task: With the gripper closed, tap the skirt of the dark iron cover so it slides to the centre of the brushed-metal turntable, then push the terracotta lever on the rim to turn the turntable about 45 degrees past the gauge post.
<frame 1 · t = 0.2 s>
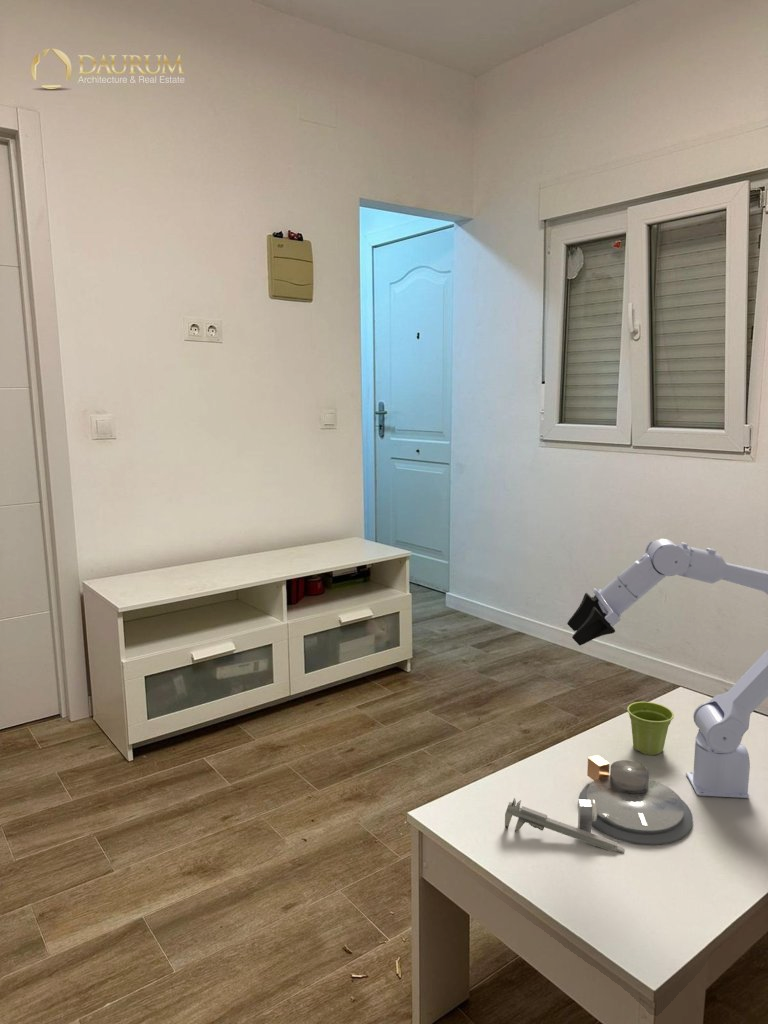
hand: (573, 634, 141), 30 cm above the table, tool tilted 45°, fingers open, 7 cm apart
cover: (629, 784, 139), point 2 cm above the table, touching turntable
plinth: (634, 811, 135), on the table
plant pot: (648, 749, 157), on the table
gauge: (584, 831, 129), on the table
caliper: (563, 841, 127), on the table
turntable: (633, 792, 136), point 3 cm above the table, hinge at 0.0°, touching cover
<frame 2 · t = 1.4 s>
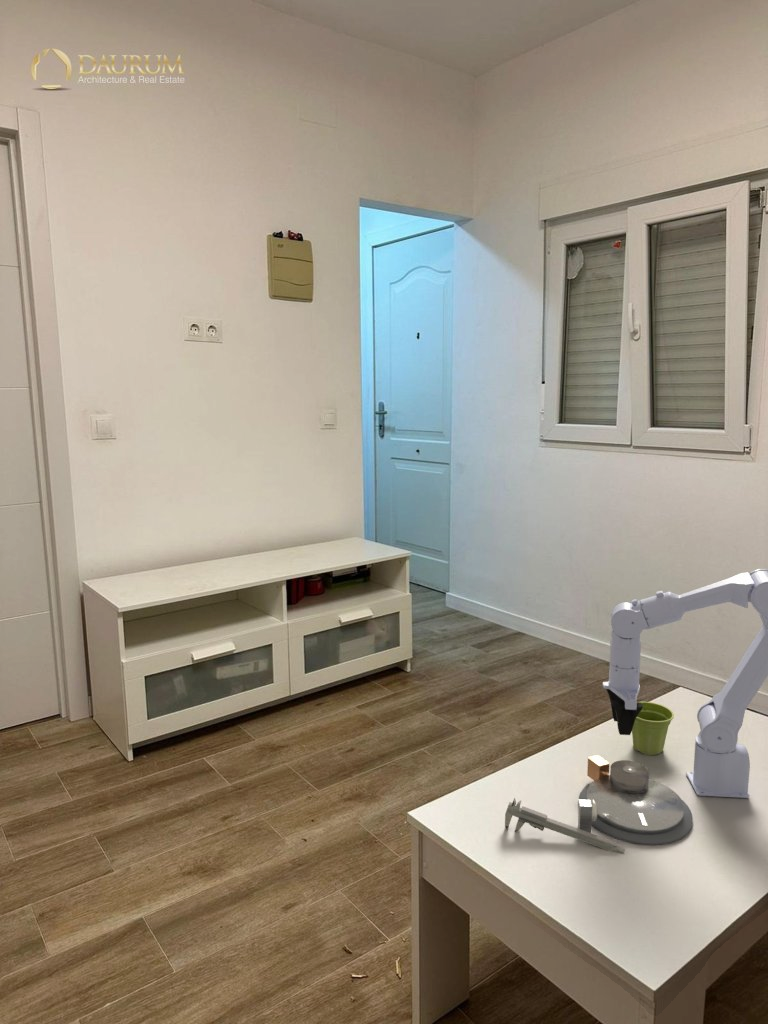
hand: (621, 727, 146), 10 cm above the table, tool pointing down, fingers open, 5 cm apart
nothing on the table moved.
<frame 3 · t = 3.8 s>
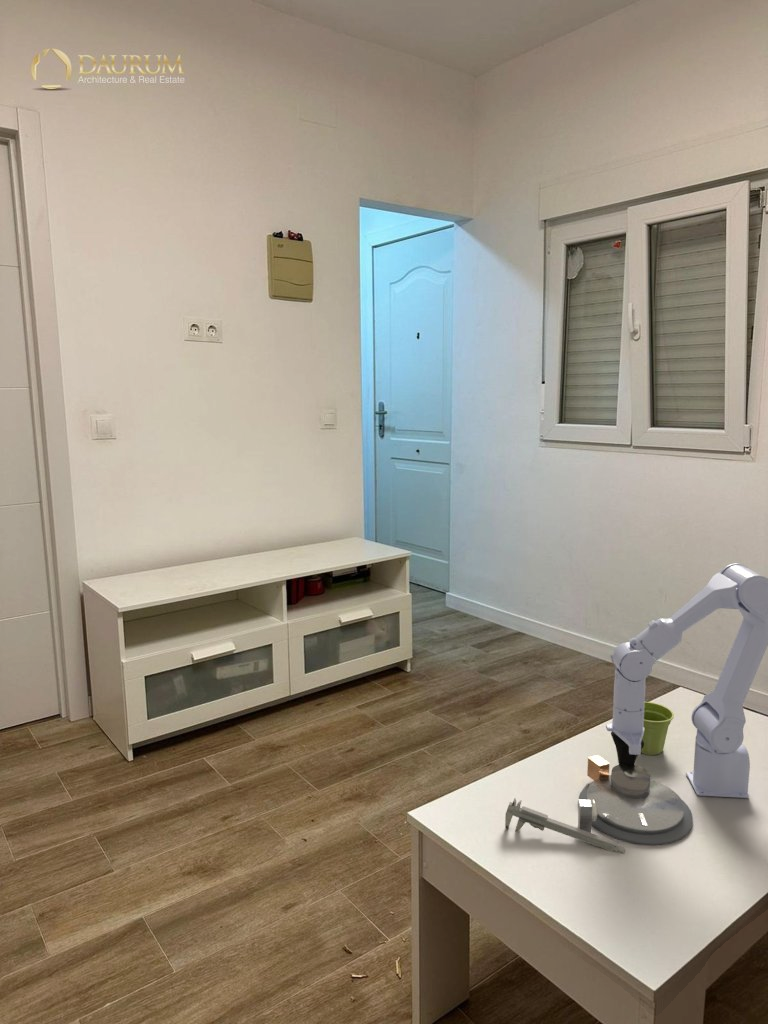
hand: (625, 770, 142), 4 cm above the table, tool pointing down, fingers closed
cover: (630, 788, 138), point 2 cm above the table, touching gripper, turntable
everything else where it was.
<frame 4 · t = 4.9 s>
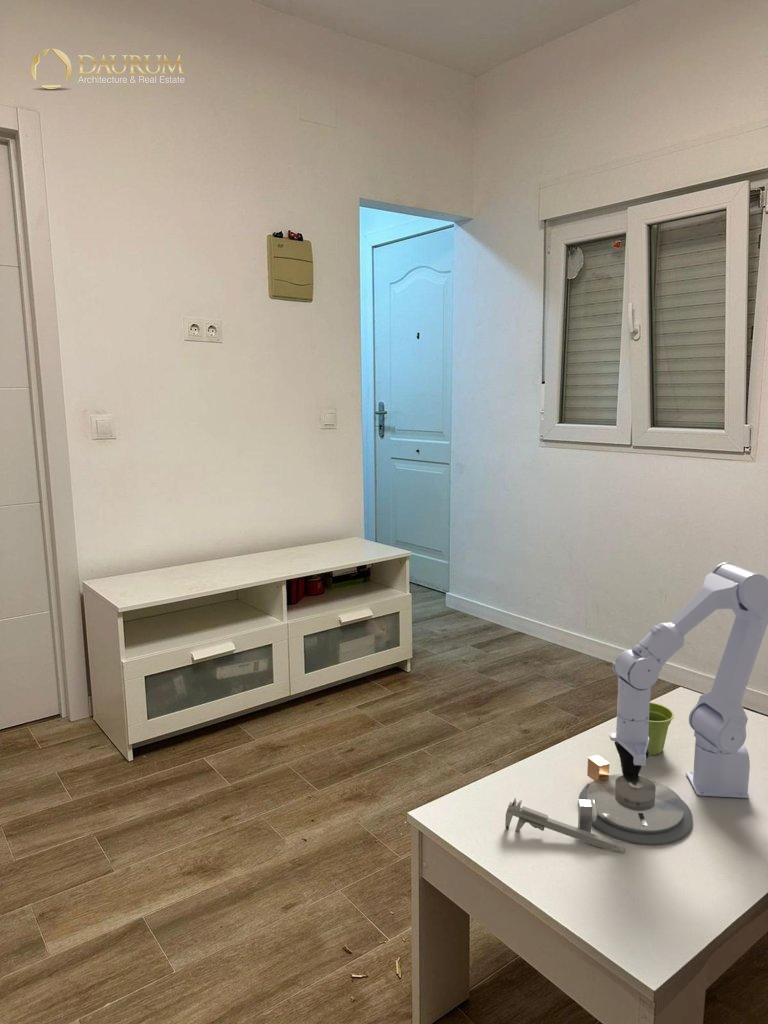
hand: (629, 780, 139), 3 cm above the table, tool pointing down, fingers closed
cover: (634, 799, 134), point 2 cm above the table, touching gripper, turntable
everything else where it was.
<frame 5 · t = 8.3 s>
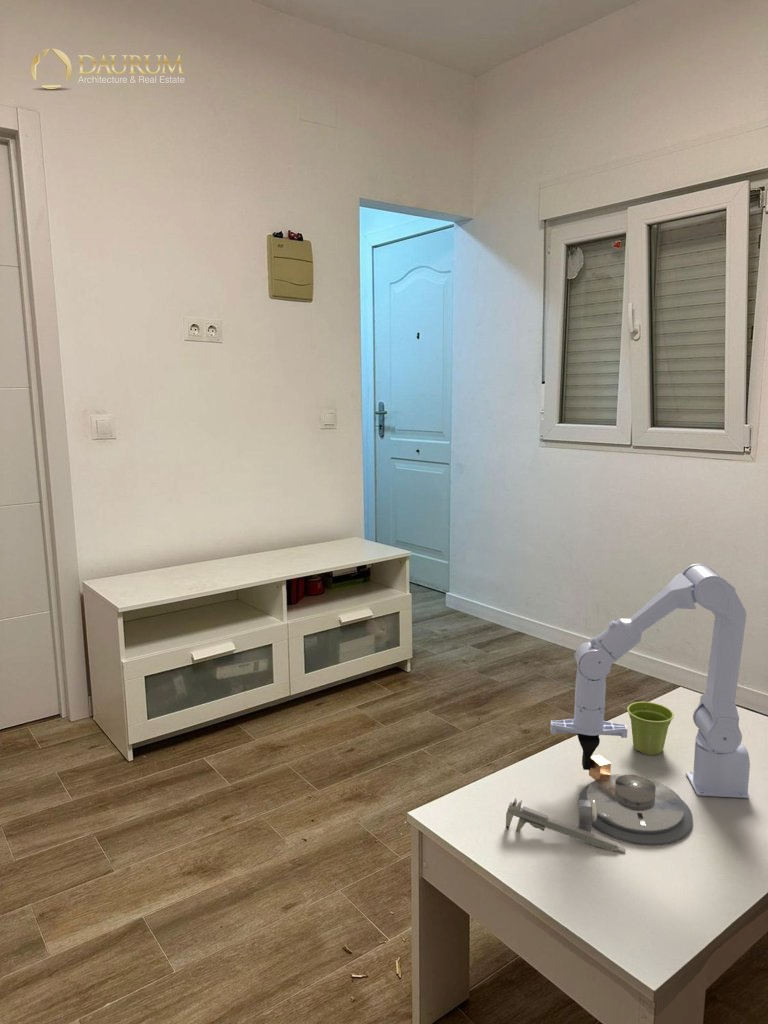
hand: (586, 767, 145), 3 cm above the table, tool pointing down, fingers closed, pressing on turntable
cover: (634, 799, 134), point 2 cm above the table, touching turntable
turntable: (633, 792, 136), point 3 cm above the table, hinge at -2.0°, touching cover, gripper
everything else where it was.
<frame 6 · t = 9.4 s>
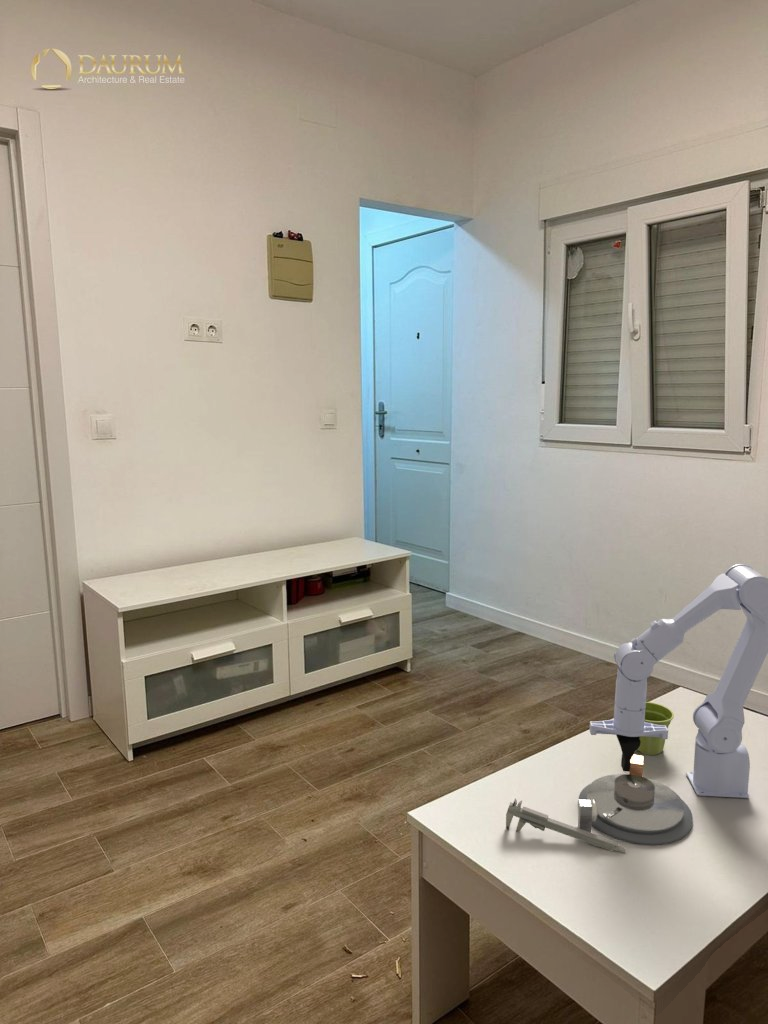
hand: (625, 768, 144), 3 cm above the table, tool pointing down, fingers closed, pressing on turntable
turntable: (638, 793, 135), point 3 cm above the table, hinge at -43.5°, touching cover, gripper
everything else where it was.
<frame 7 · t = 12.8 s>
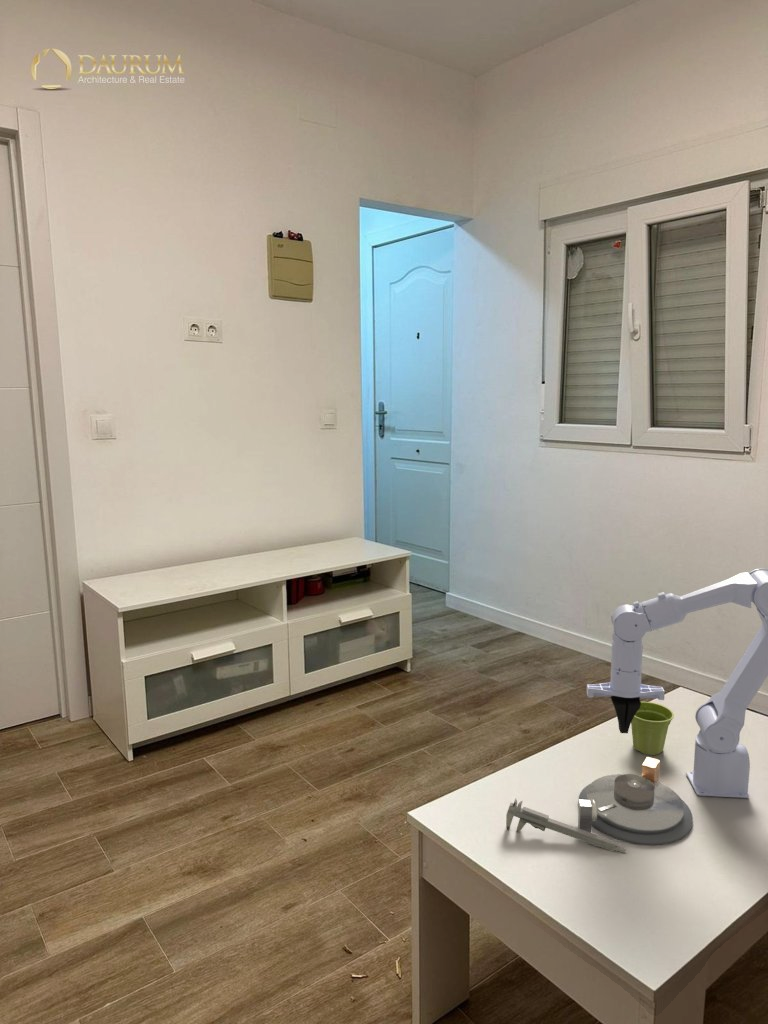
hand: (623, 730, 145), 10 cm above the table, tool pointing down, fingers closed
turntable: (639, 794, 135), point 3 cm above the table, hinge at -58.4°, touching cover
everything else where it was.
at the end: cover 0.2 cm from the turntable (horizontally); turntable at -58° (first picture: +0°); cover tilted 0° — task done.
